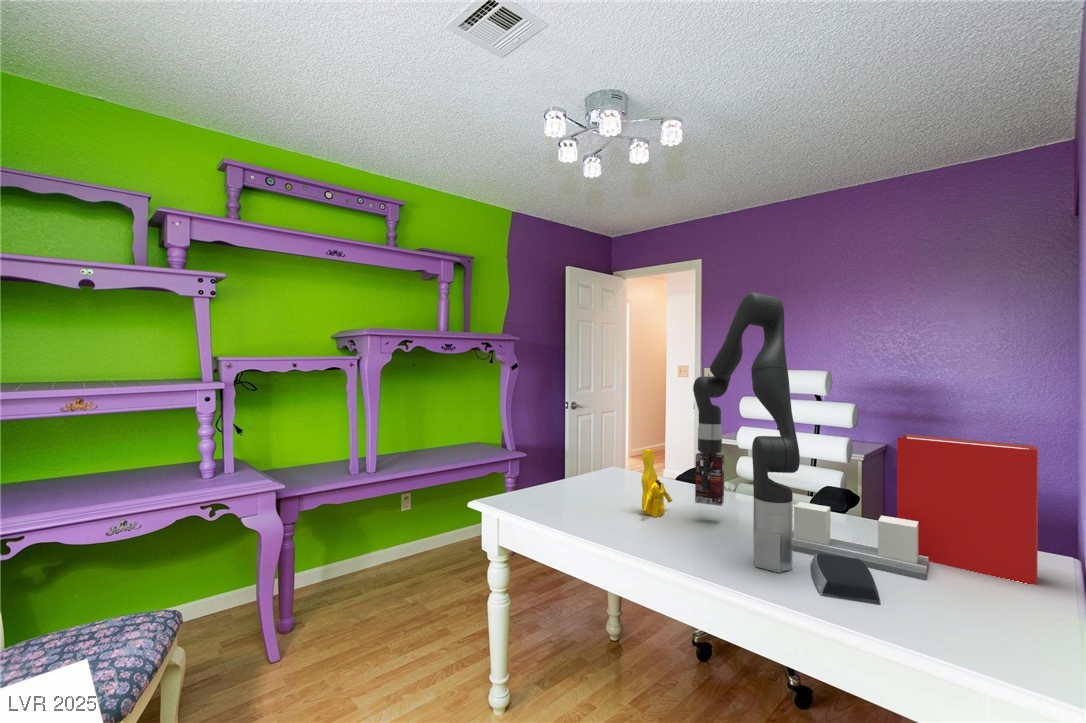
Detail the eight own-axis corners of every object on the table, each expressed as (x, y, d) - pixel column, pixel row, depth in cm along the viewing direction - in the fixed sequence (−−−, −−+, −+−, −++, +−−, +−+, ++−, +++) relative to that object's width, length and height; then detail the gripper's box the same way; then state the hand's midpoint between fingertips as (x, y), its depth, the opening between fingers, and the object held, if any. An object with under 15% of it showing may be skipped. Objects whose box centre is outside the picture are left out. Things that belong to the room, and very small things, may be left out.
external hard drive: (816, 597, 115) (816, 579, 115) (807, 564, 133) (807, 549, 132) (884, 608, 110) (884, 589, 110) (866, 572, 127) (866, 556, 127)
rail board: (925, 580, 122) (925, 532, 122) (783, 548, 143) (783, 507, 143) (928, 564, 131) (928, 520, 131) (794, 536, 152) (794, 498, 152)
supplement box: (694, 503, 166) (694, 454, 166) (697, 499, 170) (697, 452, 170) (722, 506, 162) (722, 456, 162) (724, 503, 166) (724, 454, 166)
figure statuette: (649, 522, 165) (649, 455, 165) (629, 517, 171) (629, 452, 170) (676, 510, 178) (677, 448, 178) (657, 506, 183) (657, 445, 183)
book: (896, 554, 139) (897, 437, 138) (903, 546, 144) (904, 434, 144) (1036, 586, 119) (1036, 450, 119) (1037, 576, 124) (1038, 446, 124)
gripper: (712, 440, 158) (712, 495, 158) (728, 435, 169) (728, 486, 169) (689, 438, 163) (689, 491, 163) (706, 434, 174) (706, 483, 174)
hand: (709, 488), depth 166 cm, fingers closed on supplement box, 5 cm apart
